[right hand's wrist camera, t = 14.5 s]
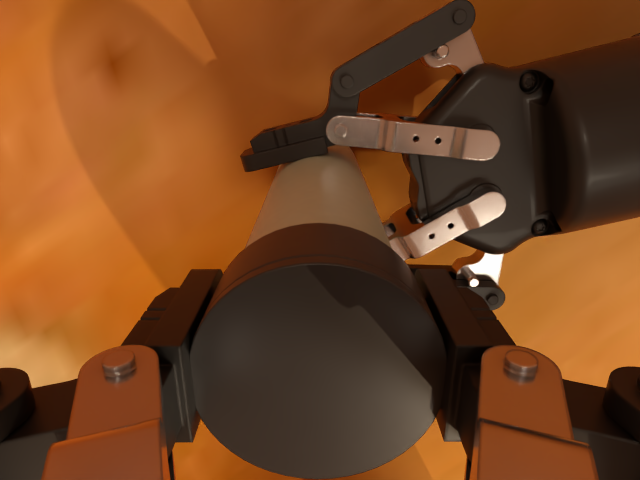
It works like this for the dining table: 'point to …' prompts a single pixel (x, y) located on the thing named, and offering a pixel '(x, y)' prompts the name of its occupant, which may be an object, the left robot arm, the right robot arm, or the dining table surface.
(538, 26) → the dining table surface
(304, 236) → the lid
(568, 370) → the dining table surface
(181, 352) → the right robot arm
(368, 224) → the jar
